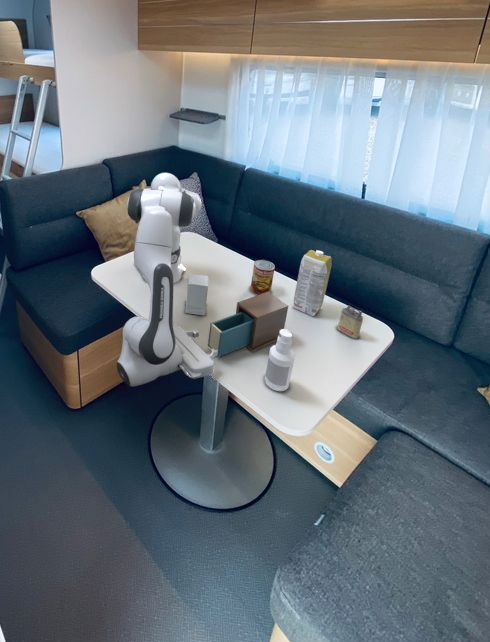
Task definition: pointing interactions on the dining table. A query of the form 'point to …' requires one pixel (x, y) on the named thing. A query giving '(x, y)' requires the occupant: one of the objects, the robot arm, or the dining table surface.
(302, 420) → the dining table surface
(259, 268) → the canned food
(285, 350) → the spray bottle
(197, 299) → the white packaging box
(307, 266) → the juice carton
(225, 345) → the container
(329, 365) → the dining table surface
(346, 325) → the lighter
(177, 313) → the dining table surface
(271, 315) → the drawer cabinet
